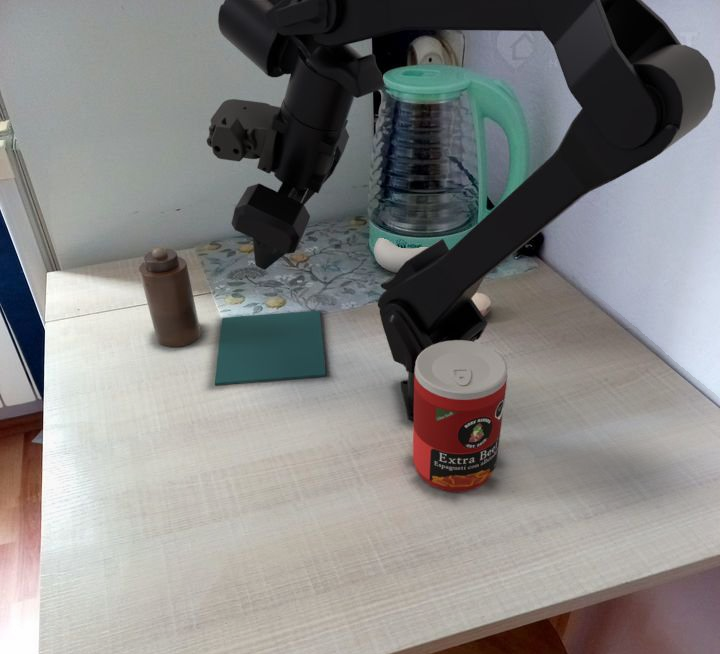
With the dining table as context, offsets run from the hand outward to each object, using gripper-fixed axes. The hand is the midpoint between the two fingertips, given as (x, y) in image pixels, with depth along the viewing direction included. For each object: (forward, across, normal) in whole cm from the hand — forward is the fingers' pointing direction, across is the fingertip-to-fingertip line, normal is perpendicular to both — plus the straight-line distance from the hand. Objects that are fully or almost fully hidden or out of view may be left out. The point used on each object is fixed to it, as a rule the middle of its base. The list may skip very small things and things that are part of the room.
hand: (274, 240), depth 75 cm
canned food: (-2, +20, +24) cm, 31 cm away
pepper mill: (+16, +4, -7) cm, 18 cm away
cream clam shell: (+4, -7, +24) cm, 26 cm away
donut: (+11, -19, +16) cm, 27 cm away
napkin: (+11, +4, +4) cm, 12 cm away
